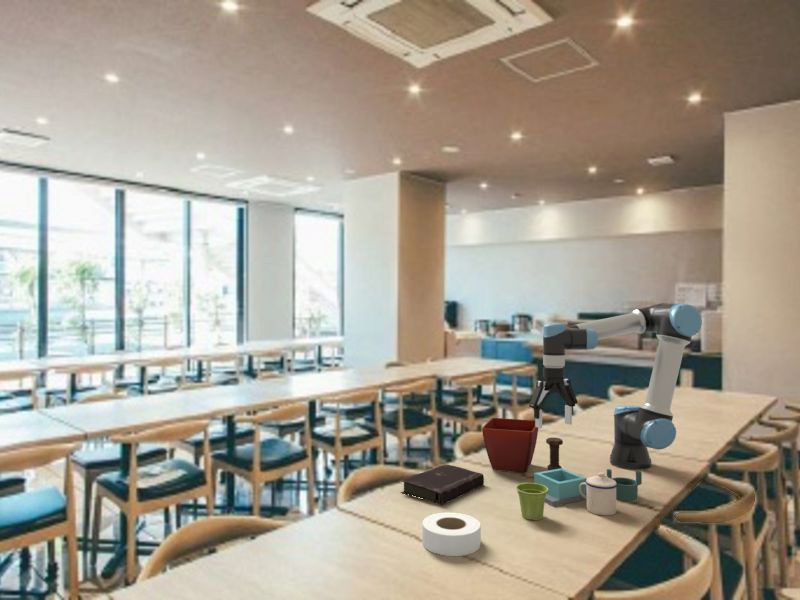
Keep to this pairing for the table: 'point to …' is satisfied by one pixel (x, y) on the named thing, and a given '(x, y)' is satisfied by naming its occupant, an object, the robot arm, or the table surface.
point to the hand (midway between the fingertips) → (553, 425)
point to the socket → (561, 486)
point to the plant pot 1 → (510, 443)
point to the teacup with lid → (600, 494)
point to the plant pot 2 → (532, 500)
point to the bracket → (626, 486)
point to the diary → (442, 483)
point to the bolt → (554, 453)
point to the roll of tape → (451, 534)
